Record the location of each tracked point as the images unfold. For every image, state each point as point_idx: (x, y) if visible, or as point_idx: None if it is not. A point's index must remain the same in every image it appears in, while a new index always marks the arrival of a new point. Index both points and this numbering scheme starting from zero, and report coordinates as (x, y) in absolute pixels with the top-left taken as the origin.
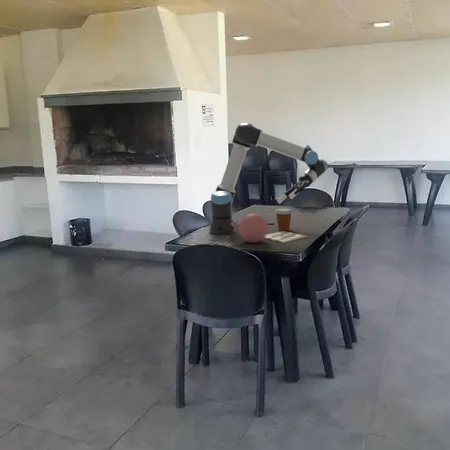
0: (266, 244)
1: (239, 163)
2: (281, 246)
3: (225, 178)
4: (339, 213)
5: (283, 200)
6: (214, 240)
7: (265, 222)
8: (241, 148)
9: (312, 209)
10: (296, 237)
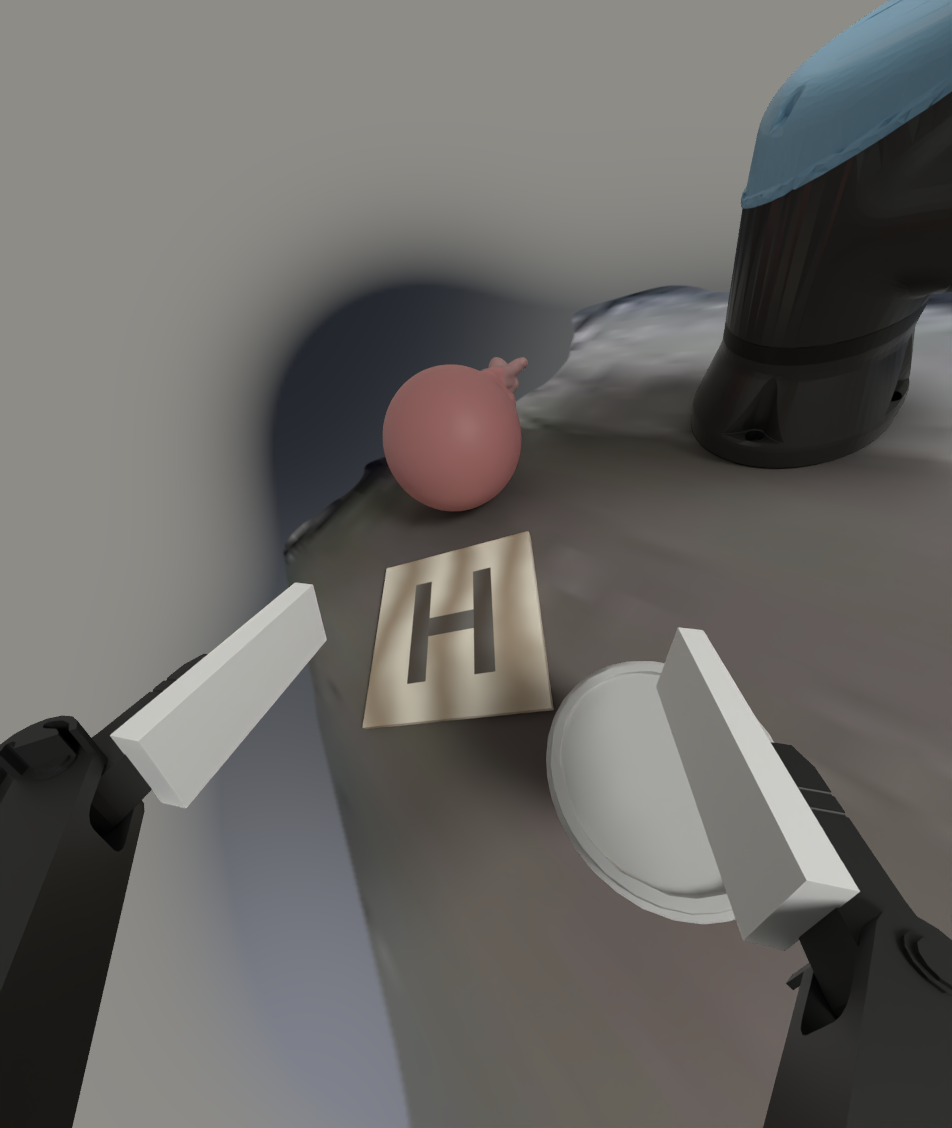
0: (419, 516)
1: None
2: (363, 547)
3: None
4: None
5: (685, 772)
6: (599, 383)
7: (387, 457)
8: None
9: None
10: (385, 658)
